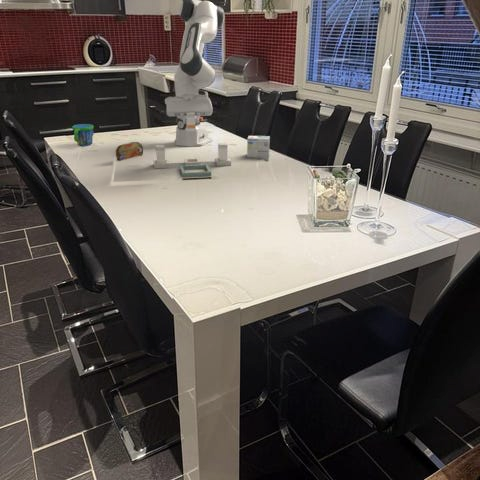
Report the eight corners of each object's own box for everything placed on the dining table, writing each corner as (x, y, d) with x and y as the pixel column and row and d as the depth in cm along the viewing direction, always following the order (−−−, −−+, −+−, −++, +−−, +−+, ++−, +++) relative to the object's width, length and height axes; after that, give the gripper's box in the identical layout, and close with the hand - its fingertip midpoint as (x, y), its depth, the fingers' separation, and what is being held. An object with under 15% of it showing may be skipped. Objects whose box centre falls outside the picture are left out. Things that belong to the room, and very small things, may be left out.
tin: (119, 164, 216) (118, 146, 212) (115, 163, 217) (113, 145, 214) (144, 158, 227) (143, 140, 223) (139, 157, 228) (138, 139, 225)
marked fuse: (186, 133, 206) (185, 112, 202) (194, 132, 207) (194, 112, 203) (187, 134, 203) (186, 113, 199) (195, 134, 203) (195, 113, 200)
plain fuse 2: (218, 162, 214) (218, 143, 211) (226, 162, 215) (226, 143, 211) (219, 164, 211) (219, 145, 208) (227, 164, 212) (227, 144, 208)
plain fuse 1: (157, 165, 209) (155, 145, 205) (165, 164, 210) (164, 145, 206) (157, 167, 206) (156, 147, 202) (165, 167, 207) (164, 146, 203)
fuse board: (153, 167, 212) (153, 159, 210) (228, 163, 218) (228, 156, 217) (154, 172, 204) (153, 164, 202) (231, 169, 210) (231, 161, 209)
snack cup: (84, 148, 242) (81, 129, 238) (67, 147, 245) (64, 127, 241) (102, 142, 255) (100, 124, 251) (86, 141, 259) (83, 122, 254)
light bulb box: (269, 157, 231) (270, 135, 226) (268, 161, 224) (269, 138, 220) (247, 156, 231) (248, 135, 227) (246, 160, 225) (247, 138, 221)
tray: (180, 172, 205) (180, 165, 203) (207, 171, 207) (207, 164, 206) (182, 180, 194) (182, 173, 193) (211, 178, 196) (211, 172, 195)
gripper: (164, 92, 202) (166, 119, 197) (211, 91, 206) (214, 118, 201) (164, 101, 208) (166, 127, 203) (209, 100, 212) (213, 126, 207)
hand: (190, 123), depth 202 cm, fingers closed on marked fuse, 4 cm apart
